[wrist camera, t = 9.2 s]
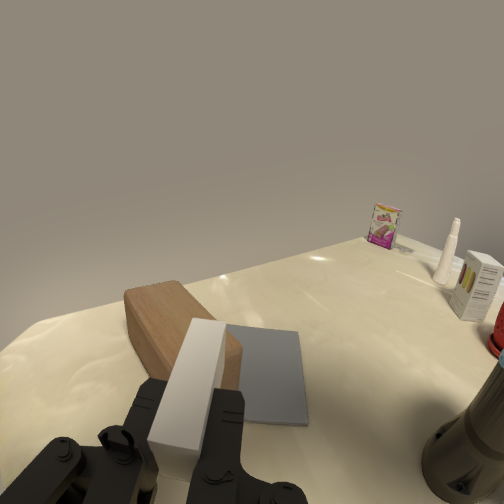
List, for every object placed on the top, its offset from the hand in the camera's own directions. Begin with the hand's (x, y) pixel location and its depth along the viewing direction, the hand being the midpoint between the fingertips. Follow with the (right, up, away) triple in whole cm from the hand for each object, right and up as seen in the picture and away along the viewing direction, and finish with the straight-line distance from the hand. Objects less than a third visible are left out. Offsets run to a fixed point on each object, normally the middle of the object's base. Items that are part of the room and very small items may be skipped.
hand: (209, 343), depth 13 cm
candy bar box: (+55, +7, +103) cm, 117 cm away
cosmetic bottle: (+65, -6, +73) cm, 98 cm away
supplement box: (+62, -13, +54) cm, 83 cm away
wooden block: (-3, -12, +21) cm, 25 cm away
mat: (-1, -14, +33) cm, 35 cm away
